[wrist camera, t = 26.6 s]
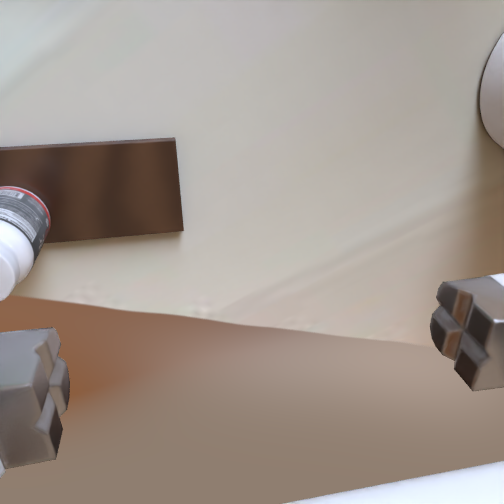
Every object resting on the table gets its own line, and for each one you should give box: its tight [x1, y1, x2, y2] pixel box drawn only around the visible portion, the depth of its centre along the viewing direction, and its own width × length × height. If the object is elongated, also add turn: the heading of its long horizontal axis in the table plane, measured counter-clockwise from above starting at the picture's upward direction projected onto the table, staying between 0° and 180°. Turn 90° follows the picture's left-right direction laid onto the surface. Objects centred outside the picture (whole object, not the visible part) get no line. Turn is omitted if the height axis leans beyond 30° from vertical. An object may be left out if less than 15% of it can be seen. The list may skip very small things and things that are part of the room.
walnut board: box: [0, 138, 184, 243], centre depth 38 cm, size 20×8×1 cm, turn 90°
